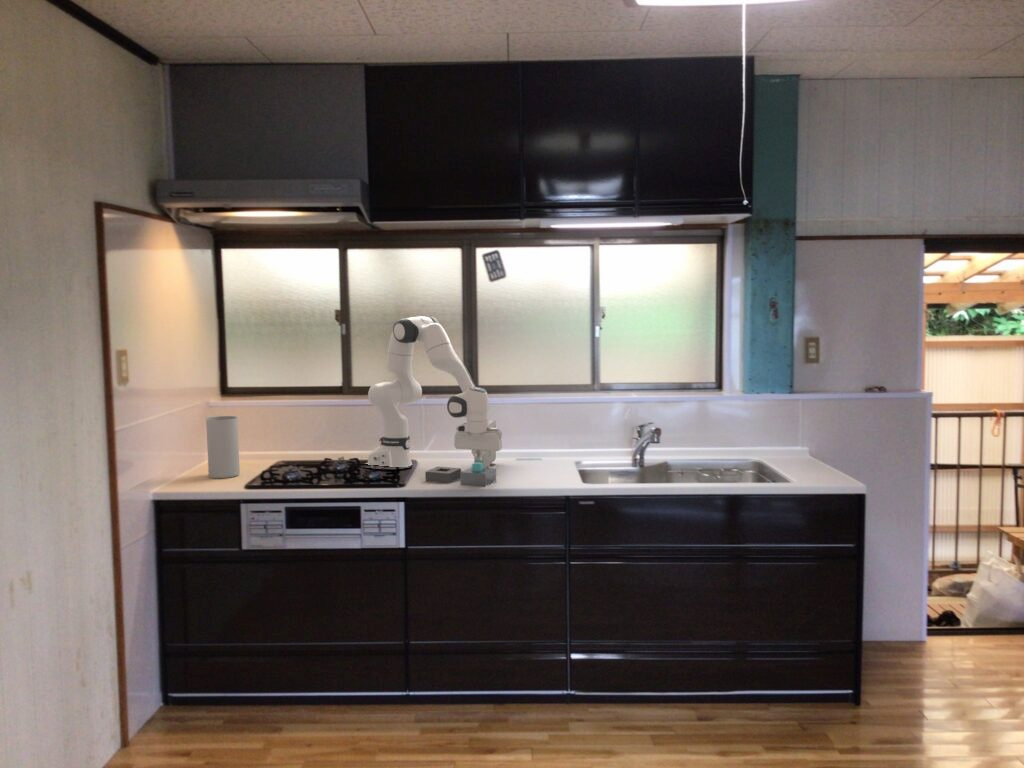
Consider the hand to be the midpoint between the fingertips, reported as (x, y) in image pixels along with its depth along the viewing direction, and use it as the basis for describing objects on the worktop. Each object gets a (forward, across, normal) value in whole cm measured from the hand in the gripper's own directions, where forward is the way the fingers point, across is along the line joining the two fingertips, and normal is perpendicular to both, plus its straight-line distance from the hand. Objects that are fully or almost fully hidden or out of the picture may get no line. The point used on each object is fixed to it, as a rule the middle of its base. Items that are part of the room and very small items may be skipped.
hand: (478, 460), depth 314 cm
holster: (+9, +16, 0) cm, 18 cm away
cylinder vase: (+9, +108, +27) cm, 111 cm away
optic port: (+9, 0, 0) cm, 9 cm away
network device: (+9, +9, -26) cm, 29 cm away
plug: (+9, 0, 0) cm, 9 cm away
